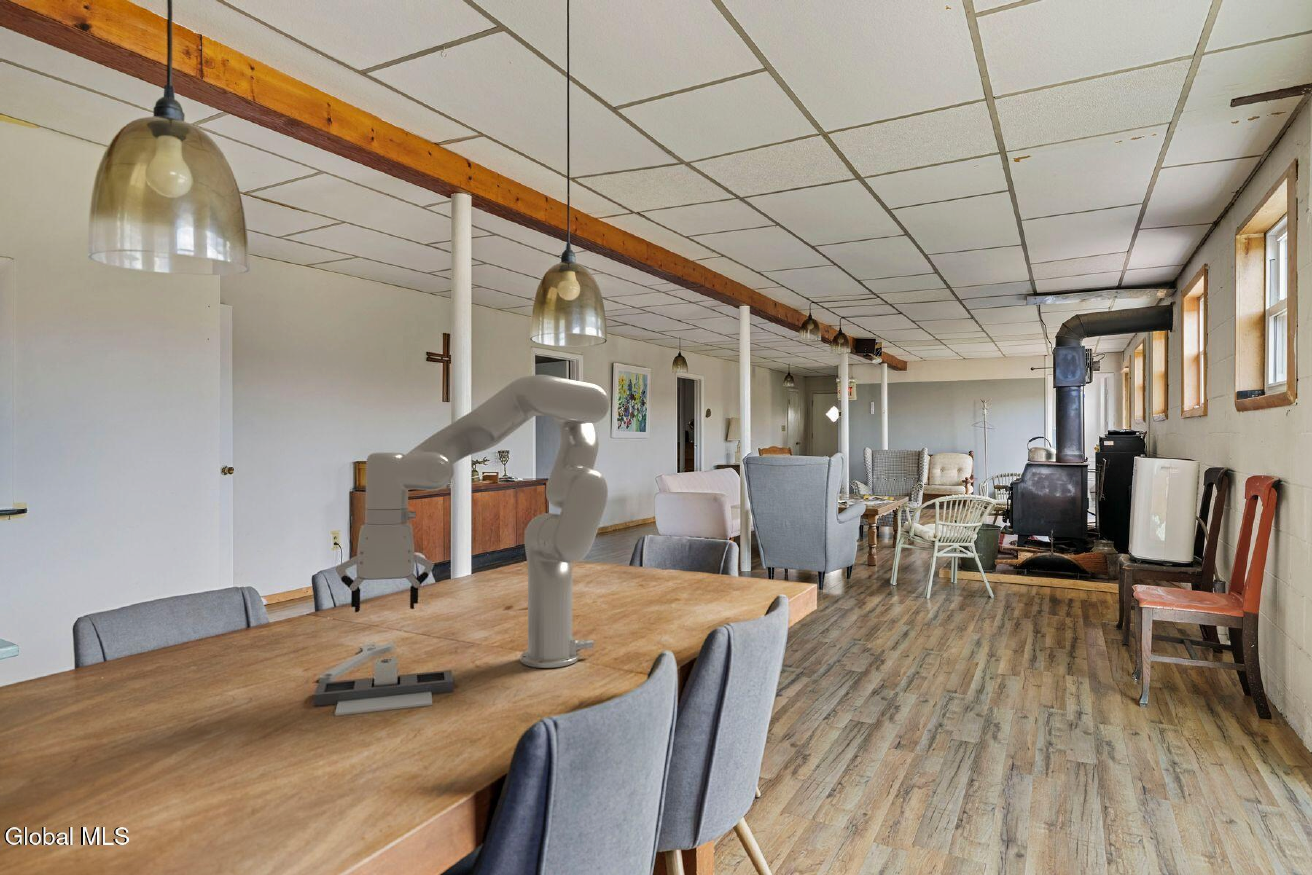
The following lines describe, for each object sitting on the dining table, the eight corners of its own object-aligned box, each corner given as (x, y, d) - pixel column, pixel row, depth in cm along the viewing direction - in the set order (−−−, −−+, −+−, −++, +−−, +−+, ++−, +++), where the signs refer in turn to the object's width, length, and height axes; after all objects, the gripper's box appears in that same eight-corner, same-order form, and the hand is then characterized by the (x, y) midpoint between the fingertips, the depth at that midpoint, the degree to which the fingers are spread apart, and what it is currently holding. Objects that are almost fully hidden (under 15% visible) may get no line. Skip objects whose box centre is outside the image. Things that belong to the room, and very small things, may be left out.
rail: (451, 679, 143) (451, 669, 143) (453, 691, 136) (453, 680, 136) (318, 693, 135) (318, 682, 135) (313, 706, 128) (313, 695, 128)
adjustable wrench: (328, 685, 141) (328, 676, 141) (299, 683, 142) (299, 674, 142) (398, 649, 166) (398, 641, 166) (373, 647, 167) (373, 639, 167)
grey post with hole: (397, 688, 138) (397, 656, 138) (397, 695, 134) (397, 662, 134) (375, 690, 137) (375, 658, 137) (374, 697, 133) (374, 664, 133)
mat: (431, 693, 135) (431, 691, 135) (432, 704, 129) (432, 702, 129) (338, 703, 130) (338, 701, 130) (334, 715, 124) (334, 713, 124)
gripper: (434, 515, 142) (432, 602, 142) (338, 517, 137) (336, 607, 136) (435, 519, 135) (433, 610, 135) (334, 520, 129) (332, 616, 129)
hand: (385, 609), depth 136 cm, fingers open, 9 cm apart
